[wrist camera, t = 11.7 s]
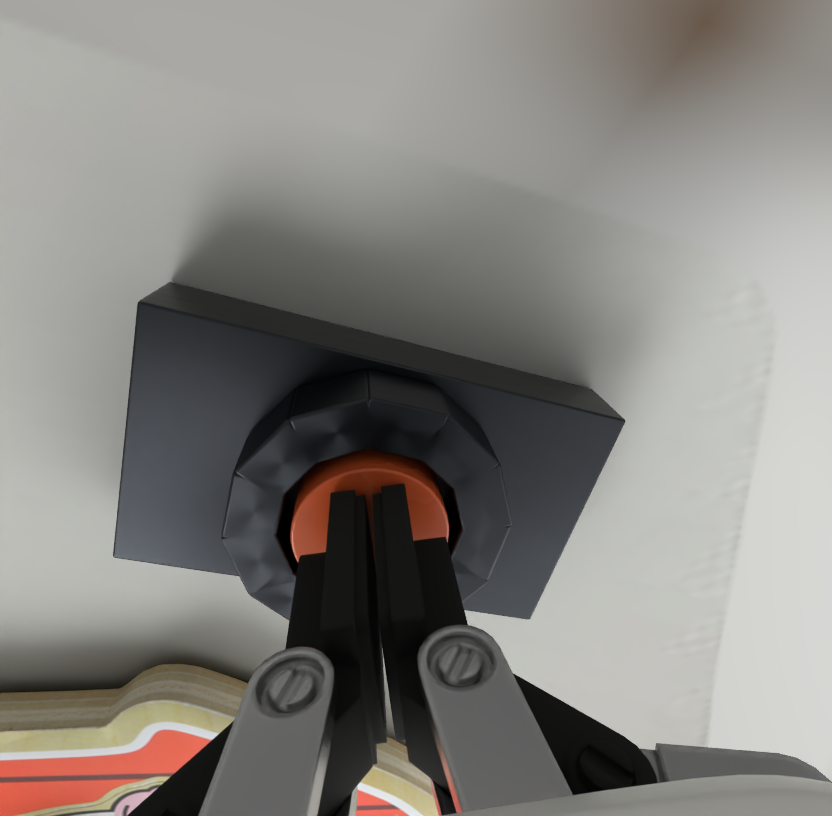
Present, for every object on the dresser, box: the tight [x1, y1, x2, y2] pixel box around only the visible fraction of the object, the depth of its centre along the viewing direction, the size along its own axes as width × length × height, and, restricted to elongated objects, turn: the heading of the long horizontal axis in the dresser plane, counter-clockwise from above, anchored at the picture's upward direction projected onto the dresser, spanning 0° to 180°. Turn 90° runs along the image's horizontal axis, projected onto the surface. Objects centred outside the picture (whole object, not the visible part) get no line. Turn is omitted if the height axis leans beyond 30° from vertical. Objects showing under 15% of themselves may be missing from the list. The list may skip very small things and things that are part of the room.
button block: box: [113, 282, 625, 621], centre depth 14 cm, size 12×7×4 cm, turn 74°
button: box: [290, 449, 449, 568], centre depth 13 cm, size 4×4×2 cm
